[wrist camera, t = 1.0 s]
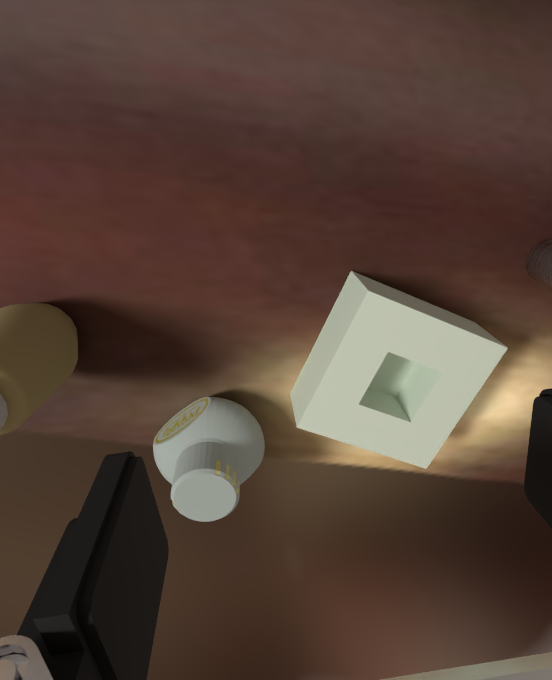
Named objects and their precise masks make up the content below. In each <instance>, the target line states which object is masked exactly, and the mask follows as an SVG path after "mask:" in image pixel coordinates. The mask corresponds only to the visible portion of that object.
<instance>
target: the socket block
mask: <svg viewBox="0 0 552 680" xmlns="http://www.w3.org/2000/svg"><path fill="white" fill-rule="evenodd" d="M507 349H508V348H507V347H506V346H505V345H504V344H502V343H501V342H500V341H498V340H497V339H496V338H495V337H493V336H492V335H491V334H489V333H488V332H487V331H486V330H484V329H483V328H482V327H480V326H479V325H478V324H477V323H475V322H473V321H471V320H468V319H466V318H463V317H461V316H459V315H456V314H454V313H451V312H449V311H447V310H444V309H442V308H439V307H437V306H435V305H432V304H430V303H427V302H425V301H423V300H420V299H418V298H415V297H413V296H411V295H408V294H406V293H403V292H401V291H399V290H396V289H394V288H391V287H389V286H387V285H384V284H382V283H379V282H377V281H375V280H372V279H370V278H367V277H365V276H363V275H360V274H358V273H356V272H353V271H351V272H350V274H349V276H348V278H347V280H346V282H345V284H344V286H343V288H342V290H341V292H340V294H339V296H338V298H337V300H336V302H335V304H334V306H333V308H332V310H331V312H330V314H329V316H328V318H327V320H326V322H325V324H324V326H323V328H322V330H321V332H320V334H319V336H318V338H317V340H316V342H315V344H314V346H313V348H312V350H311V352H310V354H309V356H308V358H307V360H306V362H305V364H304V366H303V368H302V370H301V372H300V374H299V376H298V378H297V380H296V382H295V384H294V386H293V388H292V390H291V392H290V396H291V401H292V406H293V411H294V416H295V421H296V426H297V428H300V429H303V430H306V431H309V432H312V433H316V434H319V435H322V436H325V437H328V438H331V439H334V440H338V441H341V442H344V443H347V444H350V445H353V446H356V447H360V448H363V449H366V450H369V451H372V452H375V453H378V454H382V455H385V456H388V457H391V458H394V459H397V460H400V461H404V462H407V463H410V464H413V465H416V466H419V467H422V468H427V467H428V465H429V464H430V463H431V461H432V460H433V458H434V457H435V455H436V454H437V452H438V451H439V449H440V448H441V446H442V445H443V443H444V442H445V440H446V439H447V437H448V436H449V434H450V433H451V431H452V430H453V429H454V427H455V426H456V424H457V423H458V421H459V420H460V418H461V417H462V415H463V414H464V412H465V411H466V409H467V408H468V406H469V405H470V403H471V402H472V400H473V399H474V397H475V396H476V395H477V393H478V392H479V390H480V389H481V387H482V386H483V384H484V383H485V381H486V380H487V378H488V377H489V375H490V374H491V372H492V371H493V369H494V368H495V366H496V365H497V363H498V362H499V361H500V359H501V358H502V356H503V355H504V353H505V352H506V350H507Z"/></svg>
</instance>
